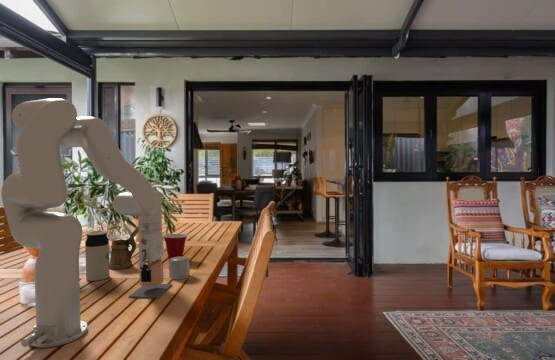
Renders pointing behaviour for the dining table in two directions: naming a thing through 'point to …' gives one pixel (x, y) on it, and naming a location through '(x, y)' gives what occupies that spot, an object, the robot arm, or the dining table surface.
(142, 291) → the mat
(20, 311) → the dining table surface
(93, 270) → the travel mug
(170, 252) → the plastic cup
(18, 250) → the dining table surface
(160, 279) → the terracotta cup
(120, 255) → the wooden mug
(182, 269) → the grey cup
